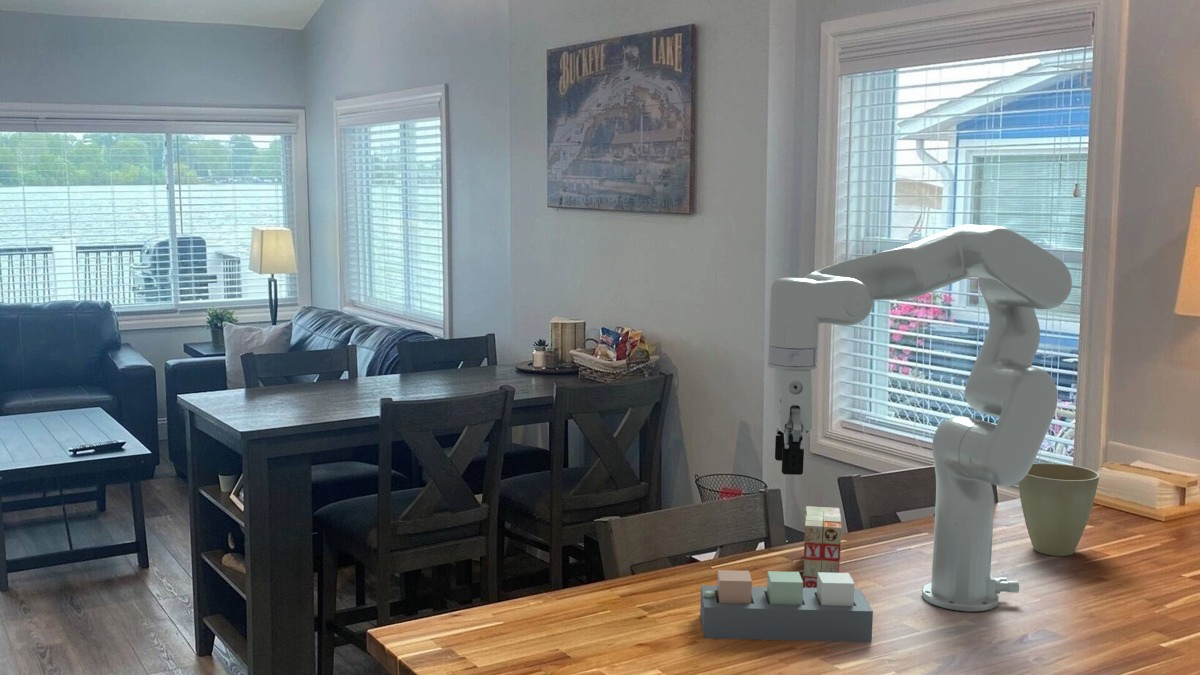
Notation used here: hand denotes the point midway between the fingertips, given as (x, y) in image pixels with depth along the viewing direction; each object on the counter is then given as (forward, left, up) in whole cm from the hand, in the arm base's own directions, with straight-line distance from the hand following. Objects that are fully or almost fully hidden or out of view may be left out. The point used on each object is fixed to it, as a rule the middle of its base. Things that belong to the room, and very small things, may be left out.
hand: (788, 466), depth 180 cm
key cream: (-8, 0, -23) cm, 24 cm away
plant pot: (-58, -44, -27) cm, 77 cm away
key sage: (0, 0, -23) cm, 23 cm away
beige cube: (+8, 0, -23) cm, 24 cm away
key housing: (0, 0, -26) cm, 26 cm away
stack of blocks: (-10, -27, -27) cm, 39 cm away
